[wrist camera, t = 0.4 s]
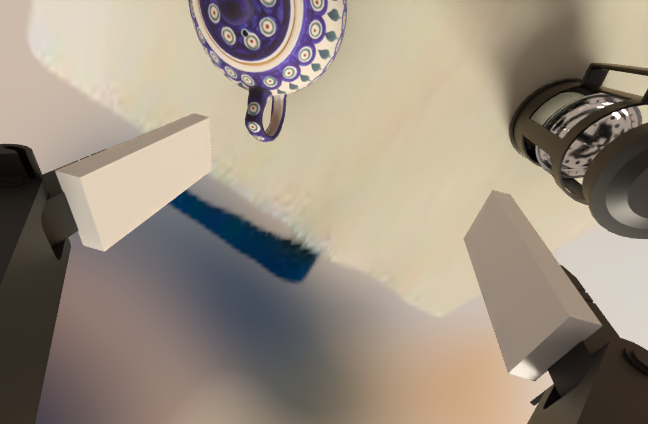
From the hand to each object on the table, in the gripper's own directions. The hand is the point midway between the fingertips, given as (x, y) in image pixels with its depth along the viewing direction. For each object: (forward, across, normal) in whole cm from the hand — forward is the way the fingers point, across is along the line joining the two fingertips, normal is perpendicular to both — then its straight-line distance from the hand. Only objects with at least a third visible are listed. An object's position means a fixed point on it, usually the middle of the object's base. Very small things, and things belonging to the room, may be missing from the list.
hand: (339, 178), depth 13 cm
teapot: (+27, -12, +5) cm, 30 cm away
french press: (+27, +21, +1) cm, 34 cm away
